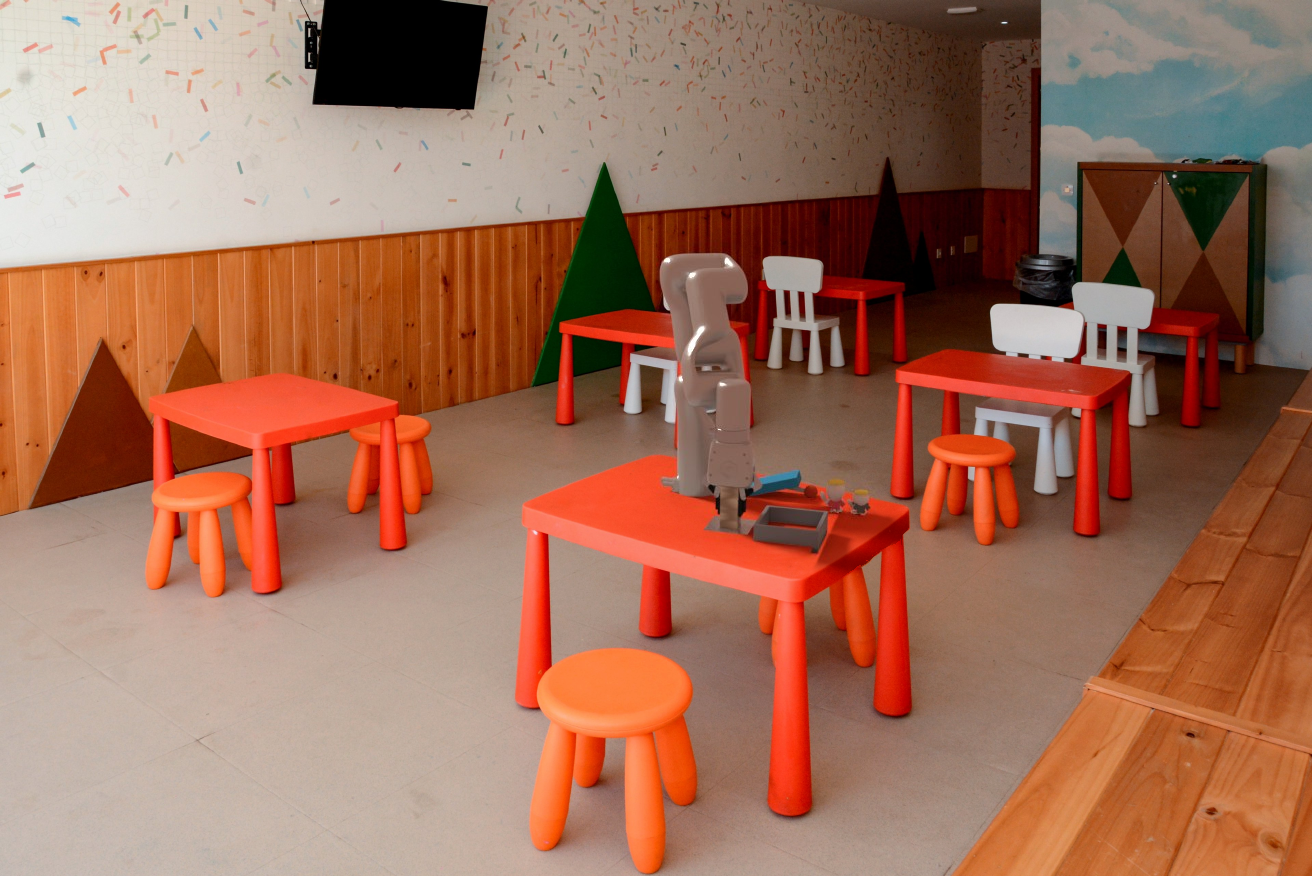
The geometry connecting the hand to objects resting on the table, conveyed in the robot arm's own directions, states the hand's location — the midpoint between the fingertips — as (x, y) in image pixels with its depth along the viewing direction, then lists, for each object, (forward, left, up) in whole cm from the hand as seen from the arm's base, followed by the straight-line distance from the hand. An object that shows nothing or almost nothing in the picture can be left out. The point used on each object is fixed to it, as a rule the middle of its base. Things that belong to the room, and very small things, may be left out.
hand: (730, 513), depth 239 cm
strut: (0, 0, -3) cm, 3 cm away
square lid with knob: (0, 0, -4) cm, 4 cm away
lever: (+5, +30, -5) cm, 31 cm away
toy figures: (+23, +21, -5) cm, 31 cm away
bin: (+14, -1, -4) cm, 15 cm away
